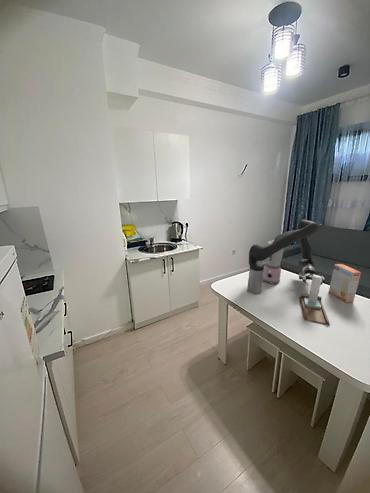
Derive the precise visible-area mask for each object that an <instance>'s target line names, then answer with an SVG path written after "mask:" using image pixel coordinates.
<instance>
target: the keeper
mask: <svg viewBox="0 0 370 493" xmlns="http://www.w3.org/2000/svg"><path fill="white" fill-rule="evenodd" d="M321 276H322V275H318V274H317V275H313V277H312V280H311V283H310V289H309V293H308V295H309V298H304V303H305V306H306V307H312V308H317V309H321V305H320V302H319V300H317V299H318V296H319V292H320V288H321V285H322V284H321V279H322V277H321ZM320 284H321V285H320Z"/></svg>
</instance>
